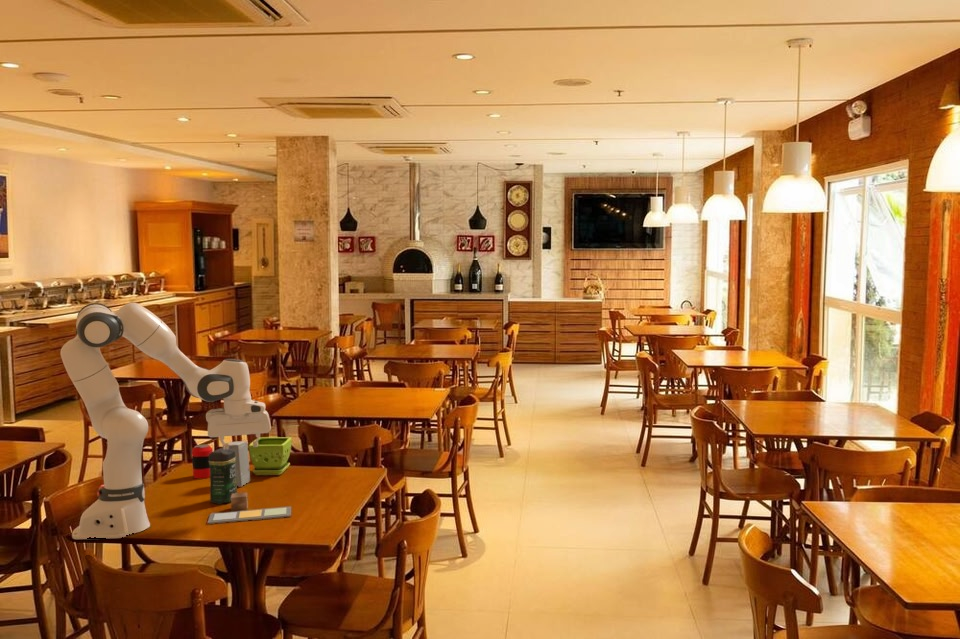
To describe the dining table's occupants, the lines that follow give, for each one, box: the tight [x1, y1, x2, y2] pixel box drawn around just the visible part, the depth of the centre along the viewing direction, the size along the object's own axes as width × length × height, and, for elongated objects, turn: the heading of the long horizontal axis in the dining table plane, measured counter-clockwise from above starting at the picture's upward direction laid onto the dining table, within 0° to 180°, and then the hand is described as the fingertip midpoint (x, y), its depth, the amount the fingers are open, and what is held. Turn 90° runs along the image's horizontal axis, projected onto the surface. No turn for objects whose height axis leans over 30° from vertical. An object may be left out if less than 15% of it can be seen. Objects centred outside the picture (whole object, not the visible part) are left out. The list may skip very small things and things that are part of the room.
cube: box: [230, 492, 249, 512], centre depth 284 cm, size 5×5×5 cm
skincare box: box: [227, 440, 251, 488], centre depth 315 cm, size 8×7×16 cm
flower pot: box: [248, 436, 293, 476], centre depth 331 cm, size 14×14×13 cm
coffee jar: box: [209, 446, 238, 505], centre depth 294 cm, size 10×8×19 cm
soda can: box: [191, 444, 213, 480], centre depth 328 cm, size 8×8×12 cm
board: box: [206, 505, 292, 525], centre depth 276 cm, size 26×10×1 cm, turn 102°
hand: (240, 448), depth 280 cm, fingers open, 8 cm apart
